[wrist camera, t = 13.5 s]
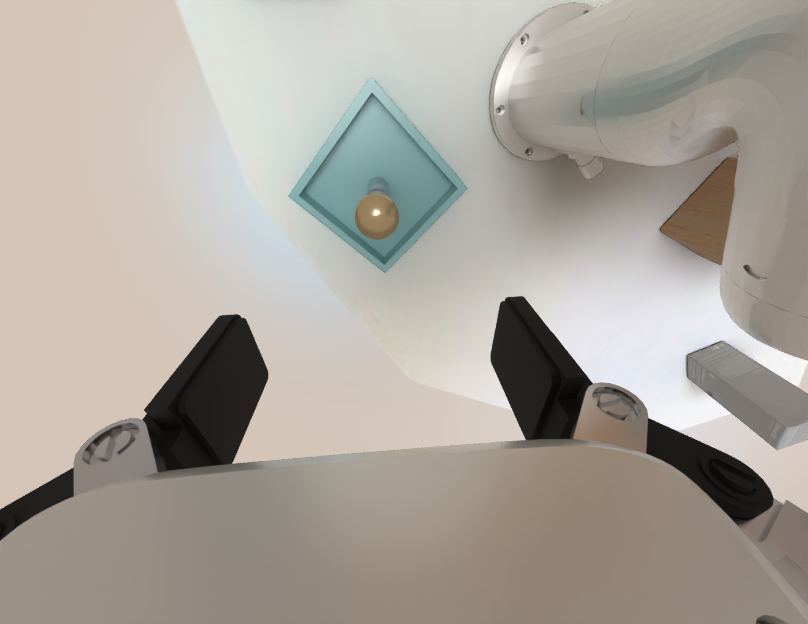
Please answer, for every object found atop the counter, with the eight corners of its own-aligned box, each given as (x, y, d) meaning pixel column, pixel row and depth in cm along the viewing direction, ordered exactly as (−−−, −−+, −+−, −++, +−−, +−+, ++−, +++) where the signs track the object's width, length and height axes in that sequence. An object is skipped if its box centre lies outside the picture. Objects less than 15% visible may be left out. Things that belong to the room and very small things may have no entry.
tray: (461, 182, 35) (467, 188, 32) (384, 263, 40) (385, 273, 37) (371, 79, 29) (370, 76, 26) (294, 190, 34) (288, 196, 31)
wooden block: (700, 256, 43) (901, 345, 26) (656, 229, 40) (852, 311, 23) (770, 191, 38) (1071, 250, 21) (727, 155, 35) (1036, 191, 18)
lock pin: (399, 186, 34) (407, 217, 24) (379, 209, 35) (379, 248, 25) (375, 163, 32) (374, 185, 22) (356, 188, 34) (345, 220, 24)
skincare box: (685, 354, 55) (781, 429, 42) (728, 337, 53) (841, 410, 40) (685, 379, 59) (772, 454, 46) (725, 364, 57) (826, 438, 44)
